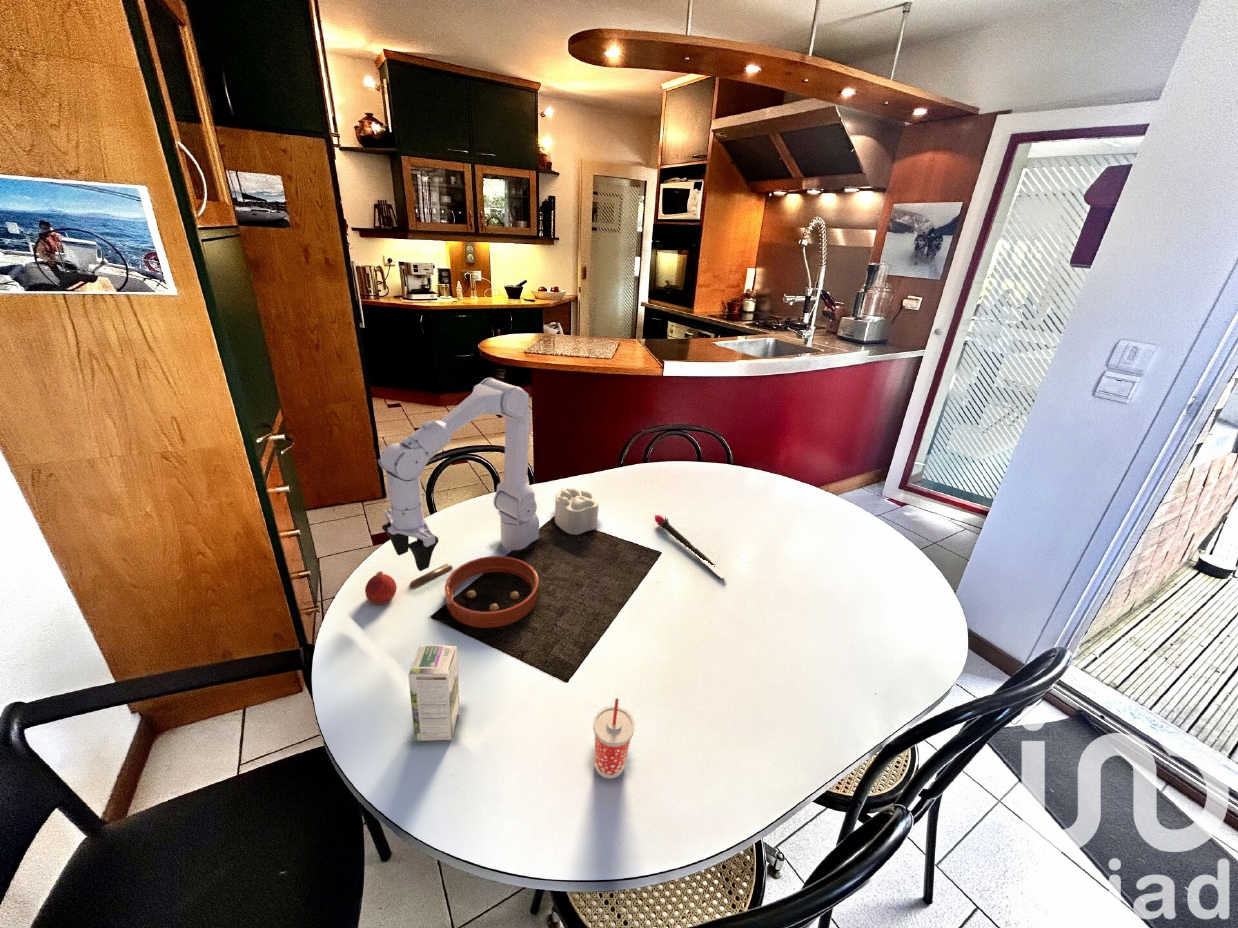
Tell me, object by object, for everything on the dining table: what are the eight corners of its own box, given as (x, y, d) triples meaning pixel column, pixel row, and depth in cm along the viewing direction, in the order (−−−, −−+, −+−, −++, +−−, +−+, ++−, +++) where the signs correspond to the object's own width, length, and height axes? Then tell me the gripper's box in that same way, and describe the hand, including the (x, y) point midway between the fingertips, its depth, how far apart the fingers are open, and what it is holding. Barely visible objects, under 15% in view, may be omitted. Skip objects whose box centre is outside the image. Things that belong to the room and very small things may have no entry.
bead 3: (515, 595, 108) (515, 588, 107) (521, 599, 107) (521, 592, 106) (508, 599, 107) (507, 592, 106) (514, 604, 106) (514, 596, 105)
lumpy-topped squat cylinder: (570, 536, 132) (571, 509, 128) (546, 515, 141) (547, 488, 137) (601, 526, 138) (604, 499, 134) (576, 506, 147) (578, 480, 143)
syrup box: (424, 709, 81) (417, 643, 75) (461, 709, 82) (456, 643, 76) (414, 741, 76) (405, 673, 70) (453, 741, 77) (448, 673, 71)
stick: (448, 568, 115) (448, 560, 114) (455, 573, 114) (454, 564, 113) (407, 589, 108) (406, 580, 107) (414, 594, 106) (413, 585, 105)
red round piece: (386, 615, 100) (382, 583, 97) (361, 609, 101) (356, 578, 98) (403, 597, 105) (399, 566, 102) (379, 591, 106) (375, 561, 103)
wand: (719, 573, 118) (649, 510, 140) (716, 586, 120) (647, 522, 142) (732, 569, 120) (661, 507, 142) (729, 581, 122) (659, 519, 144)
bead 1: (472, 594, 107) (472, 586, 107) (478, 598, 106) (477, 590, 105) (464, 598, 106) (464, 591, 105) (470, 602, 105) (470, 595, 104)
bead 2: (494, 607, 104) (494, 599, 103) (500, 611, 103) (500, 604, 102) (487, 612, 103) (486, 604, 102) (493, 616, 102) (493, 609, 101)
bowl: (498, 563, 119) (498, 546, 117) (556, 599, 109) (556, 581, 107) (427, 602, 105) (426, 583, 103) (486, 648, 94) (485, 628, 92)
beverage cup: (597, 739, 79) (603, 677, 73) (633, 752, 78) (642, 689, 72) (583, 775, 74) (589, 710, 68) (622, 789, 72) (631, 724, 66)
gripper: (367, 497, 96) (375, 554, 102) (408, 524, 89) (415, 585, 94) (400, 485, 102) (406, 540, 107) (442, 511, 94) (447, 568, 100)
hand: (413, 560), depth 101 cm, fingers open, 7 cm apart
